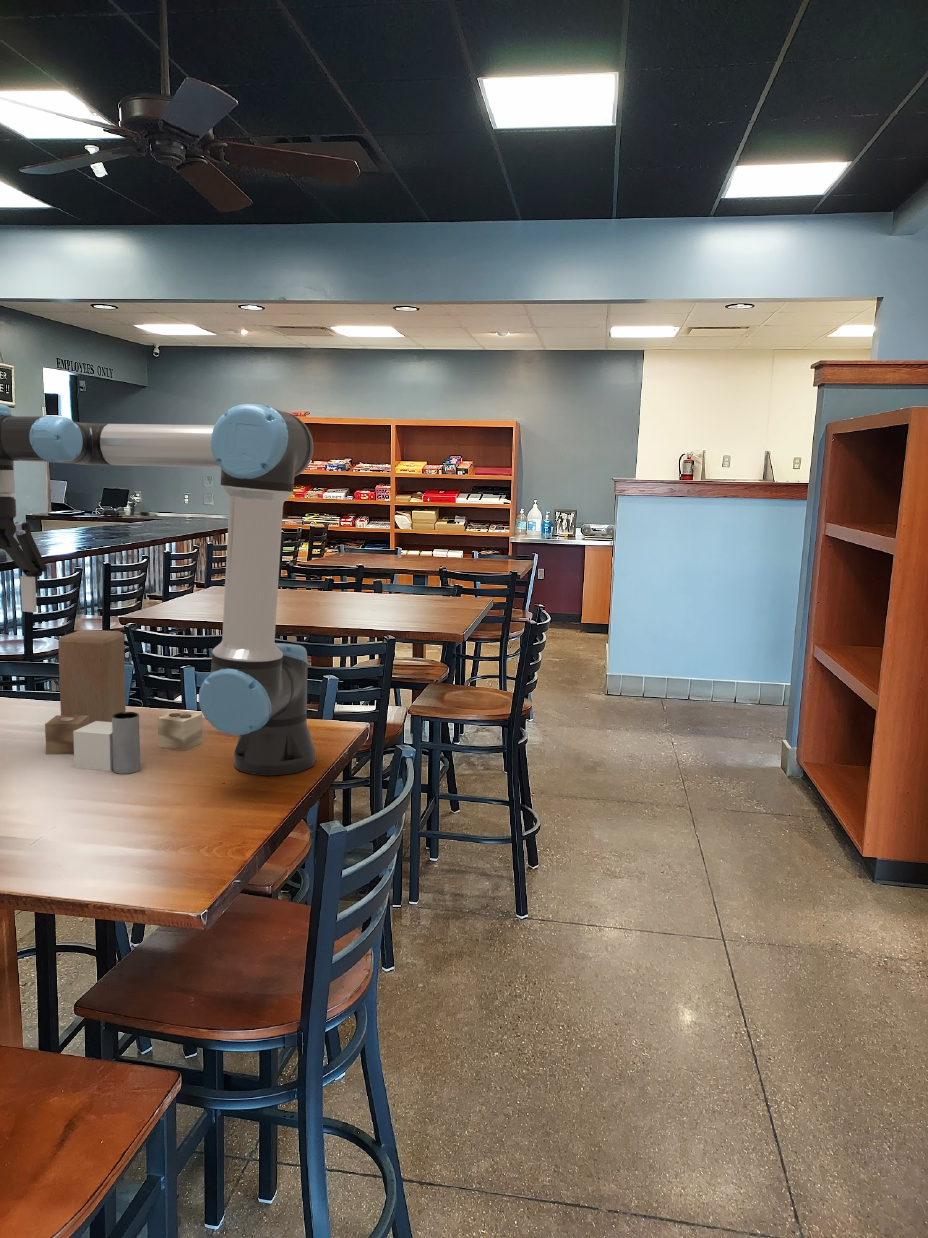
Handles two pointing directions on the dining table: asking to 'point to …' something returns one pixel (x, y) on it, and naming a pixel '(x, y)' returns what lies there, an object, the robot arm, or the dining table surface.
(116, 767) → the planter
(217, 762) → the dining table surface
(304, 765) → the robot arm
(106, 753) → the grey block
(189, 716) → the maple block
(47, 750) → the walnut block
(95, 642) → the block
